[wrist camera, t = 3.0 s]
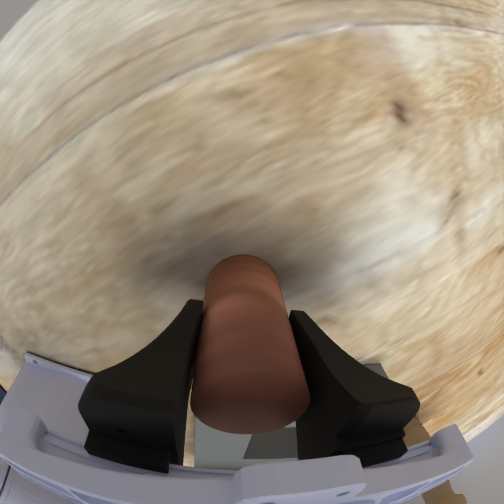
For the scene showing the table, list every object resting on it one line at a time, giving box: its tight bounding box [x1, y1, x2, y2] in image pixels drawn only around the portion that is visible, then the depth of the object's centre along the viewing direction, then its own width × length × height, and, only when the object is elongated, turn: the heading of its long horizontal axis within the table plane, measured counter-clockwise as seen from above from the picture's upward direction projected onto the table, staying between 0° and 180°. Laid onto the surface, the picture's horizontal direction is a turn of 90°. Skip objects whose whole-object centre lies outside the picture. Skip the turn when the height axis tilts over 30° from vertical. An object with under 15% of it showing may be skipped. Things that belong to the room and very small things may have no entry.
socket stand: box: [194, 364, 388, 470], centre depth 17 cm, size 14×17×11 cm
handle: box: [403, 417, 467, 504], centre depth 18 cm, size 5×6×15 cm
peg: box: [190, 255, 310, 434], centre depth 12 cm, size 4×4×8 cm
